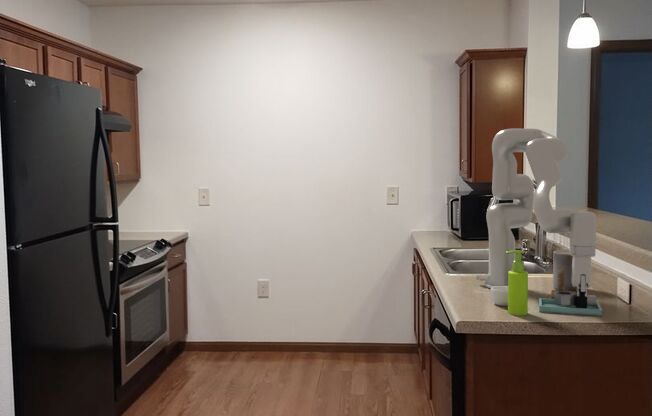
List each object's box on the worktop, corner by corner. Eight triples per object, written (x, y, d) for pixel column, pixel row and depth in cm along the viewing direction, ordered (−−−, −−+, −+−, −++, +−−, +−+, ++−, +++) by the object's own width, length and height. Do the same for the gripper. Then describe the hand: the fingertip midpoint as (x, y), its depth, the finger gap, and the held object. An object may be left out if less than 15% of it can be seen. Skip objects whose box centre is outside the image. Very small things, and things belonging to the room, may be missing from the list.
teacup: (519, 306, 187) (519, 290, 186) (497, 308, 185) (497, 291, 185) (504, 299, 197) (504, 283, 196) (483, 300, 195) (483, 285, 195)
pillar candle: (583, 287, 212) (583, 247, 211) (578, 292, 204) (578, 251, 203) (555, 284, 217) (556, 245, 216) (550, 289, 209) (550, 249, 208)
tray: (539, 311, 180) (539, 305, 180) (538, 303, 190) (539, 298, 190) (601, 316, 174) (602, 310, 174) (598, 307, 184) (598, 301, 183)
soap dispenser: (501, 311, 182) (502, 249, 180) (522, 310, 182) (523, 248, 180) (509, 316, 176) (509, 252, 174) (530, 315, 176) (531, 251, 175)
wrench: (554, 305, 180) (554, 294, 180) (553, 300, 186) (553, 290, 186) (596, 308, 176) (596, 297, 176) (594, 303, 182) (594, 292, 182)
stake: (548, 303, 189) (549, 271, 188) (547, 298, 197) (548, 266, 196) (574, 305, 187) (575, 272, 186) (572, 299, 194) (573, 268, 193)
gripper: (567, 246, 188) (566, 300, 189) (571, 254, 173) (569, 313, 174) (592, 247, 185) (591, 302, 187) (598, 255, 170) (596, 315, 172)
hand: (580, 307), depth 181 cm, fingers closed on wrench, 2 cm apart
